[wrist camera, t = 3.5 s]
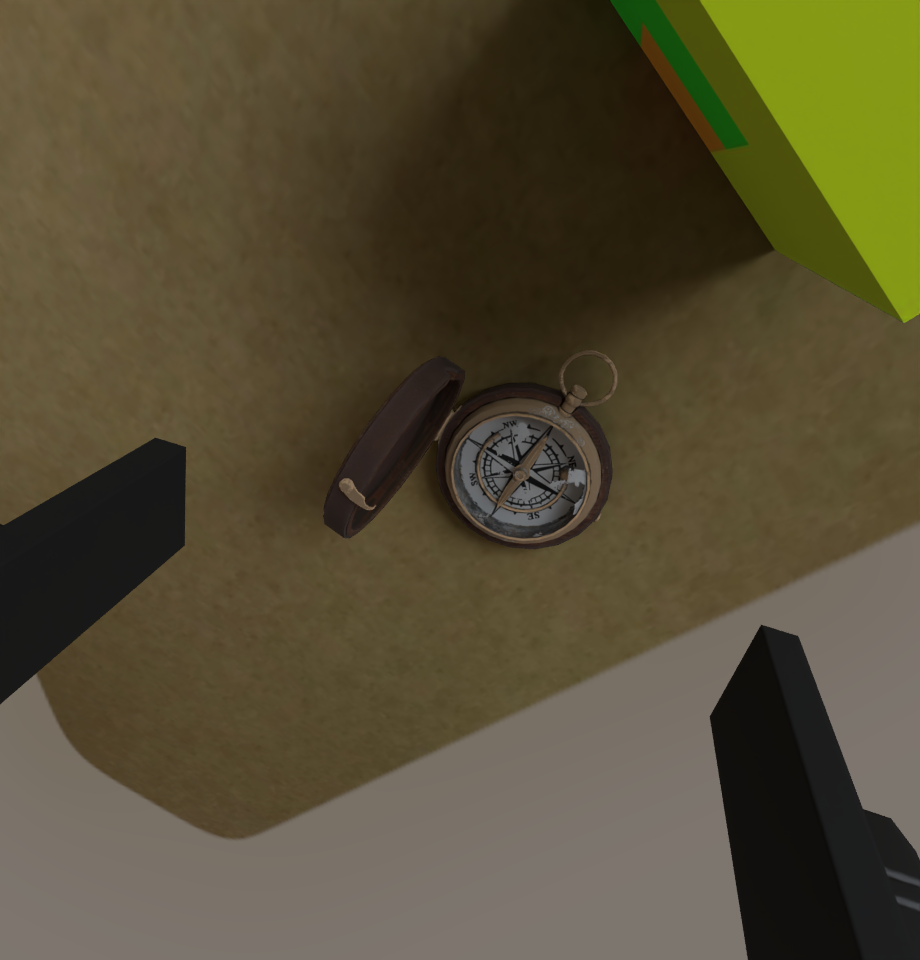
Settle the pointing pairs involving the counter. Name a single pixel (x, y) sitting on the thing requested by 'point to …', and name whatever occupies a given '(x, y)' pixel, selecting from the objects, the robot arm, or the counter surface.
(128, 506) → the robot arm
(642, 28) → the puzzle toy
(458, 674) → the counter surface
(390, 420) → the compass
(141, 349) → the counter surface
